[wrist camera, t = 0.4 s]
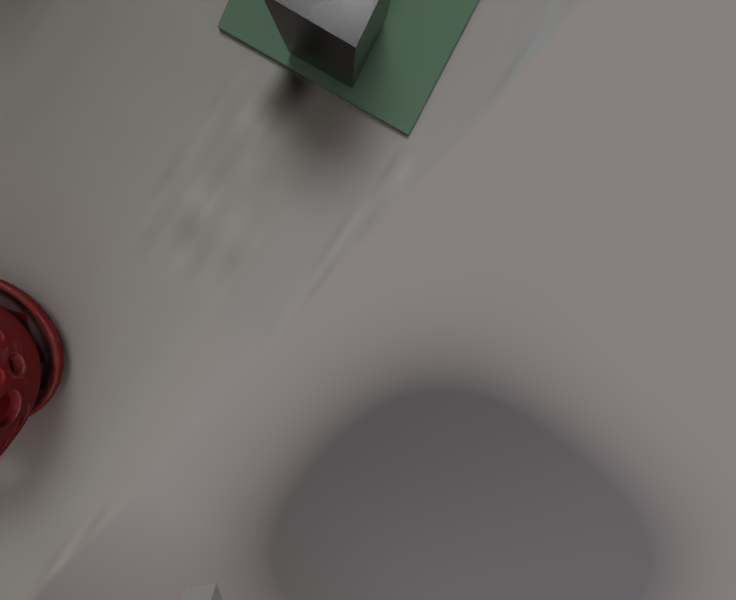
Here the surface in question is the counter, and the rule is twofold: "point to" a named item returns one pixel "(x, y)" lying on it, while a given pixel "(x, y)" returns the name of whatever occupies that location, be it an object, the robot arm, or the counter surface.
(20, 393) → the plant pot
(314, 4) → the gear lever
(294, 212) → the counter surface
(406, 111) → the mat
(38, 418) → the counter surface
